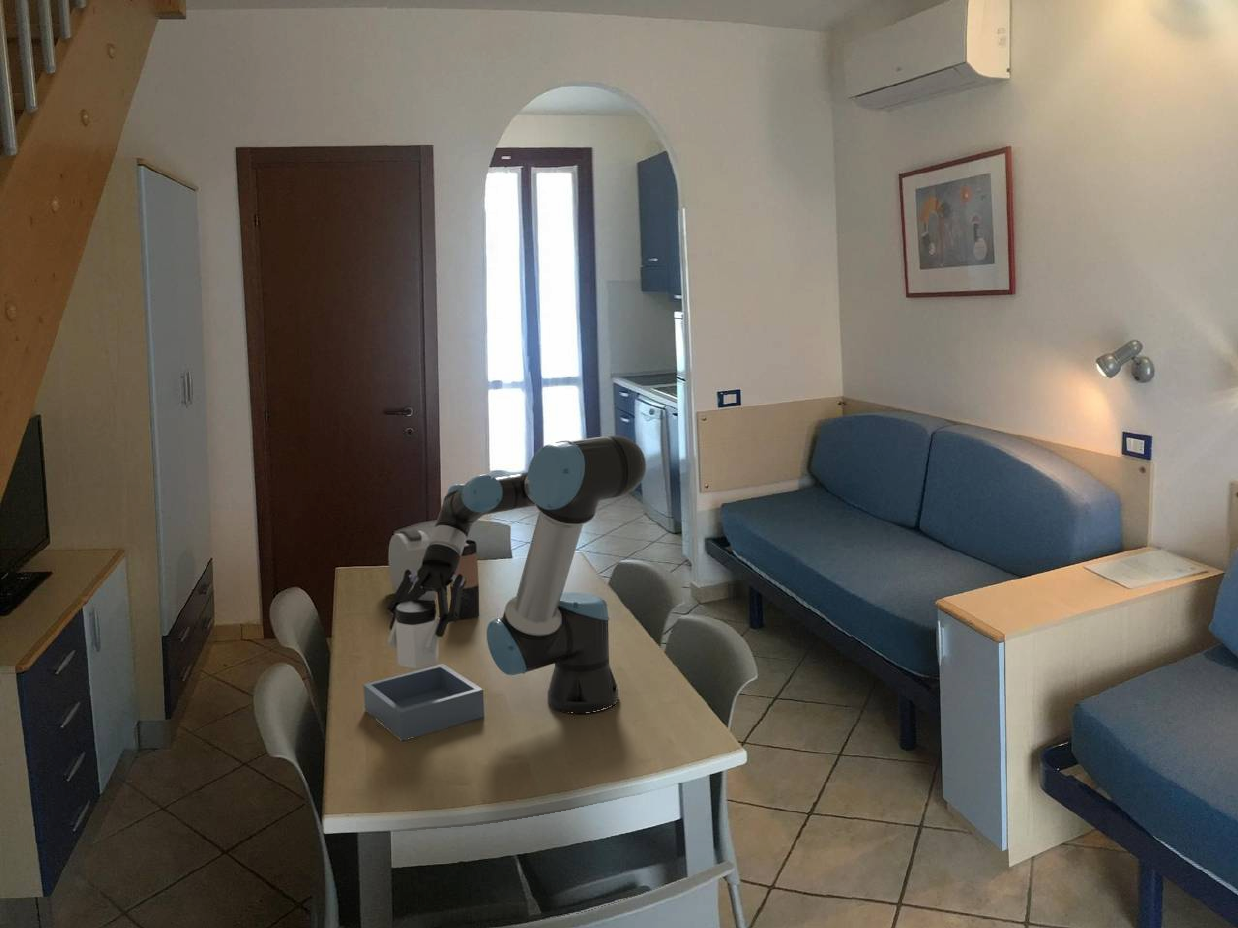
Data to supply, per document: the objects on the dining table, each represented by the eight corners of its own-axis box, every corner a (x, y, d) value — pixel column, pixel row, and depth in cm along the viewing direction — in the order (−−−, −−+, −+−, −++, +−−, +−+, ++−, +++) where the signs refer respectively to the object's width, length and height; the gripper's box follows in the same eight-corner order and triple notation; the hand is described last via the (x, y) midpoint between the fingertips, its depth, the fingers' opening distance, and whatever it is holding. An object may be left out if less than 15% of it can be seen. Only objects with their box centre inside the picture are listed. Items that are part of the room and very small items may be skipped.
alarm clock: (439, 604, 287) (435, 535, 283) (414, 609, 283) (409, 539, 280) (414, 585, 305) (410, 520, 301) (390, 589, 301) (385, 524, 298)
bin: (484, 716, 212) (482, 689, 211) (401, 741, 202) (399, 712, 201) (444, 689, 227) (442, 663, 226) (365, 711, 217) (363, 684, 215)
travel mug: (486, 613, 278) (482, 541, 275) (467, 621, 272) (463, 548, 268) (464, 608, 282) (460, 538, 279) (445, 616, 276) (441, 544, 273)
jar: (405, 672, 207) (402, 615, 205) (390, 659, 214) (387, 604, 212) (446, 662, 212) (443, 607, 210) (431, 650, 219) (428, 596, 217)
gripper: (494, 563, 221) (463, 660, 209) (408, 556, 227) (373, 650, 216) (482, 545, 215) (449, 645, 203) (394, 539, 221) (357, 634, 210)
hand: (410, 647), depth 209 cm, fingers closed on jar, 8 cm apart
